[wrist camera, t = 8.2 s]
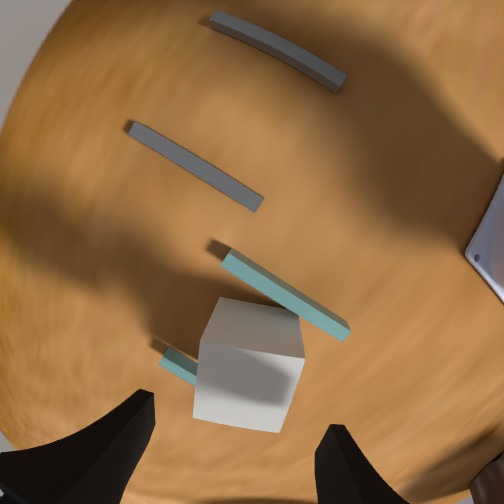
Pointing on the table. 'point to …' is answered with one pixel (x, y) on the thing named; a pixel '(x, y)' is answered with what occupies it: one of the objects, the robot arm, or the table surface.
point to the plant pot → (489, 484)
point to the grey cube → (248, 365)
